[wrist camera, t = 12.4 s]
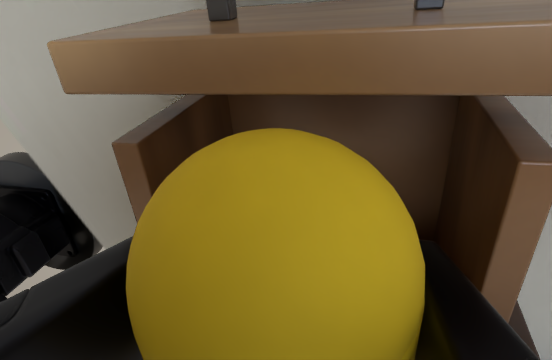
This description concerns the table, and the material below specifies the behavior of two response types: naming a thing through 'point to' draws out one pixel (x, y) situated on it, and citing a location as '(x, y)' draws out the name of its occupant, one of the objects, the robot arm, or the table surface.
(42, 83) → the table surface
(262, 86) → the drawer
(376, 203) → the yellow plastic egg
